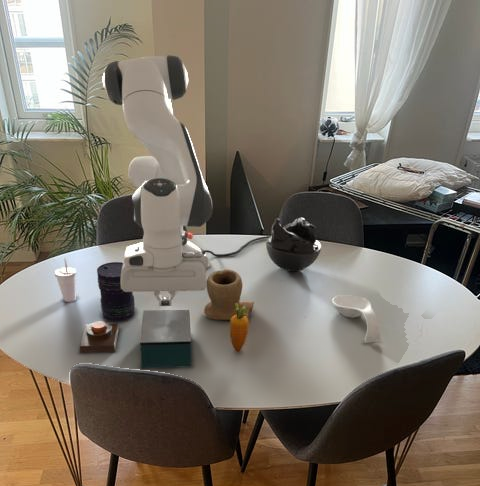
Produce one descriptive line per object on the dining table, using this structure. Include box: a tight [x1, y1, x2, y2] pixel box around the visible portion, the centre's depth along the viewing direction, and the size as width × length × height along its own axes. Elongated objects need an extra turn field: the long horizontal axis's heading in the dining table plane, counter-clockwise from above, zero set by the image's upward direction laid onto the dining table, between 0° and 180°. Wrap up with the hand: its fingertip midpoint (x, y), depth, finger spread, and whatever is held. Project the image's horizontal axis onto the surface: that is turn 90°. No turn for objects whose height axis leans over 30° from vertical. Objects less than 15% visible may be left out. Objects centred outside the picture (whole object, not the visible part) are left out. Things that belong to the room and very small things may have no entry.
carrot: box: [229, 303, 250, 354], centre depth 124 cm, size 5×5×15 cm
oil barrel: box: [96, 261, 136, 323], centre depth 138 cm, size 10×10×15 cm
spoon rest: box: [331, 294, 382, 344], centre depth 143 cm, size 24×12×7 cm, turn 12°
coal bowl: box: [265, 216, 322, 272], centre depth 171 cm, size 20×20×19 cm
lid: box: [139, 309, 192, 346], centre depth 122 cm, size 15×13×1 cm
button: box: [91, 320, 106, 333], centre depth 127 cm, size 4×4×2 cm
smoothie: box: [54, 258, 78, 303], centre depth 144 cm, size 6×6×14 cm
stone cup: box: [203, 269, 255, 321], centre depth 140 cm, size 15×12×15 cm
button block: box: [78, 322, 120, 354], centre depth 128 cm, size 11×9×4 cm
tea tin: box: [139, 343, 192, 369], centre depth 125 cm, size 15×13×8 cm
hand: (165, 305), depth 114 cm, fingers closed
